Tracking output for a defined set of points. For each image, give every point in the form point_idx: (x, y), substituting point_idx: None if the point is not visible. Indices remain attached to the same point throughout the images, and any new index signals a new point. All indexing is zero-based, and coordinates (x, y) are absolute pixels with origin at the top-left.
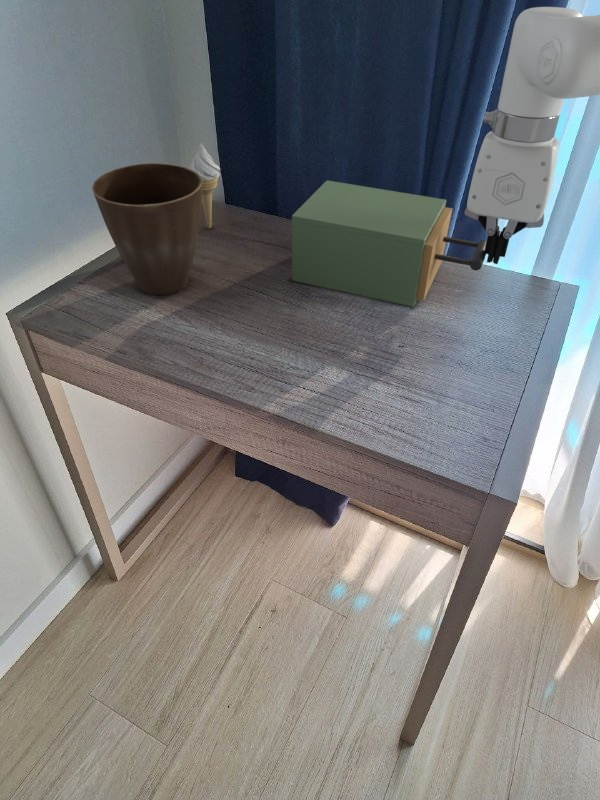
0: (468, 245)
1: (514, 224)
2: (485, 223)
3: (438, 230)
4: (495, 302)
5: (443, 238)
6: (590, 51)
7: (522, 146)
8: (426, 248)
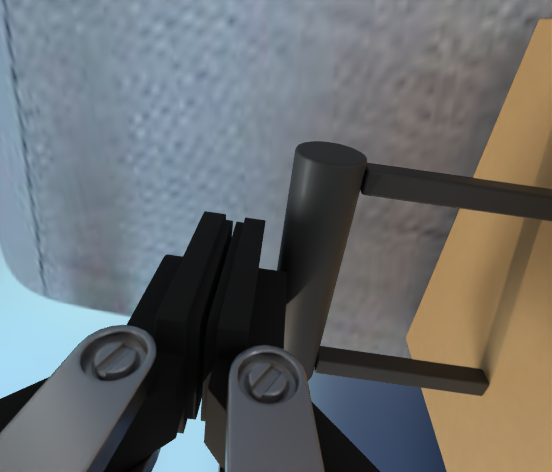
0: (358, 353)
1: (6, 459)
2: (325, 462)
3: None
4: (214, 143)
5: (488, 382)
6: None
7: None
8: None
